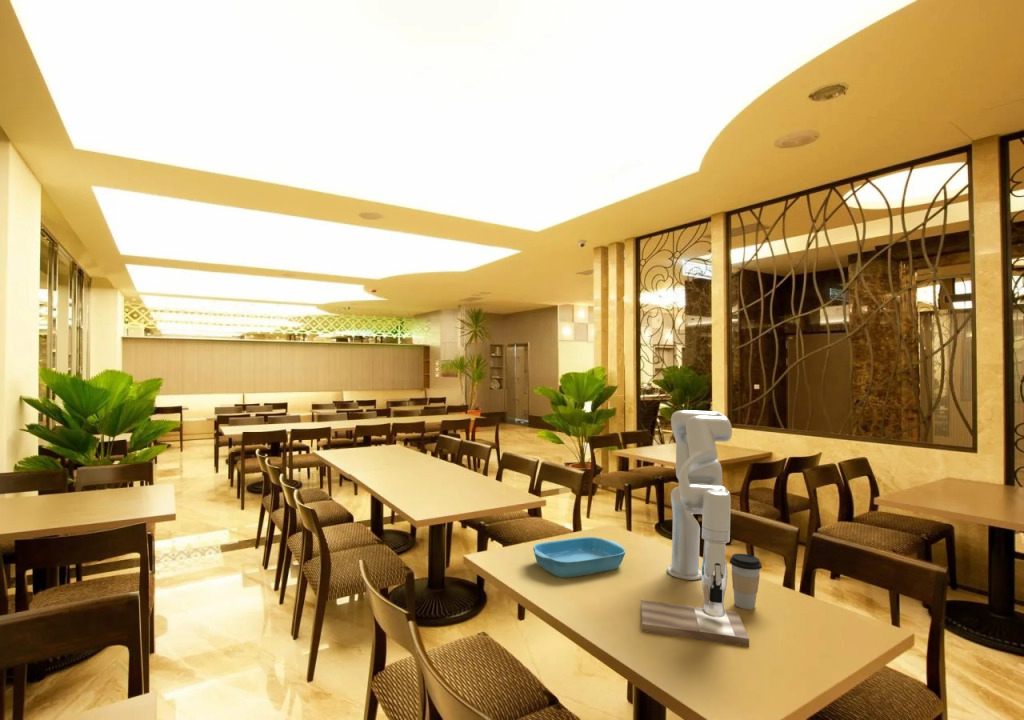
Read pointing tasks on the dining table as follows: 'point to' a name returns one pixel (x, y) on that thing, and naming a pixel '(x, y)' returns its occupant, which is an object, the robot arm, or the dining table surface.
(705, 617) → the cutting board
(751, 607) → the coffee cup
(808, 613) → the dining table surface
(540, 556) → the casserole dish
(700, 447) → the robot arm
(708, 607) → the beer glass
